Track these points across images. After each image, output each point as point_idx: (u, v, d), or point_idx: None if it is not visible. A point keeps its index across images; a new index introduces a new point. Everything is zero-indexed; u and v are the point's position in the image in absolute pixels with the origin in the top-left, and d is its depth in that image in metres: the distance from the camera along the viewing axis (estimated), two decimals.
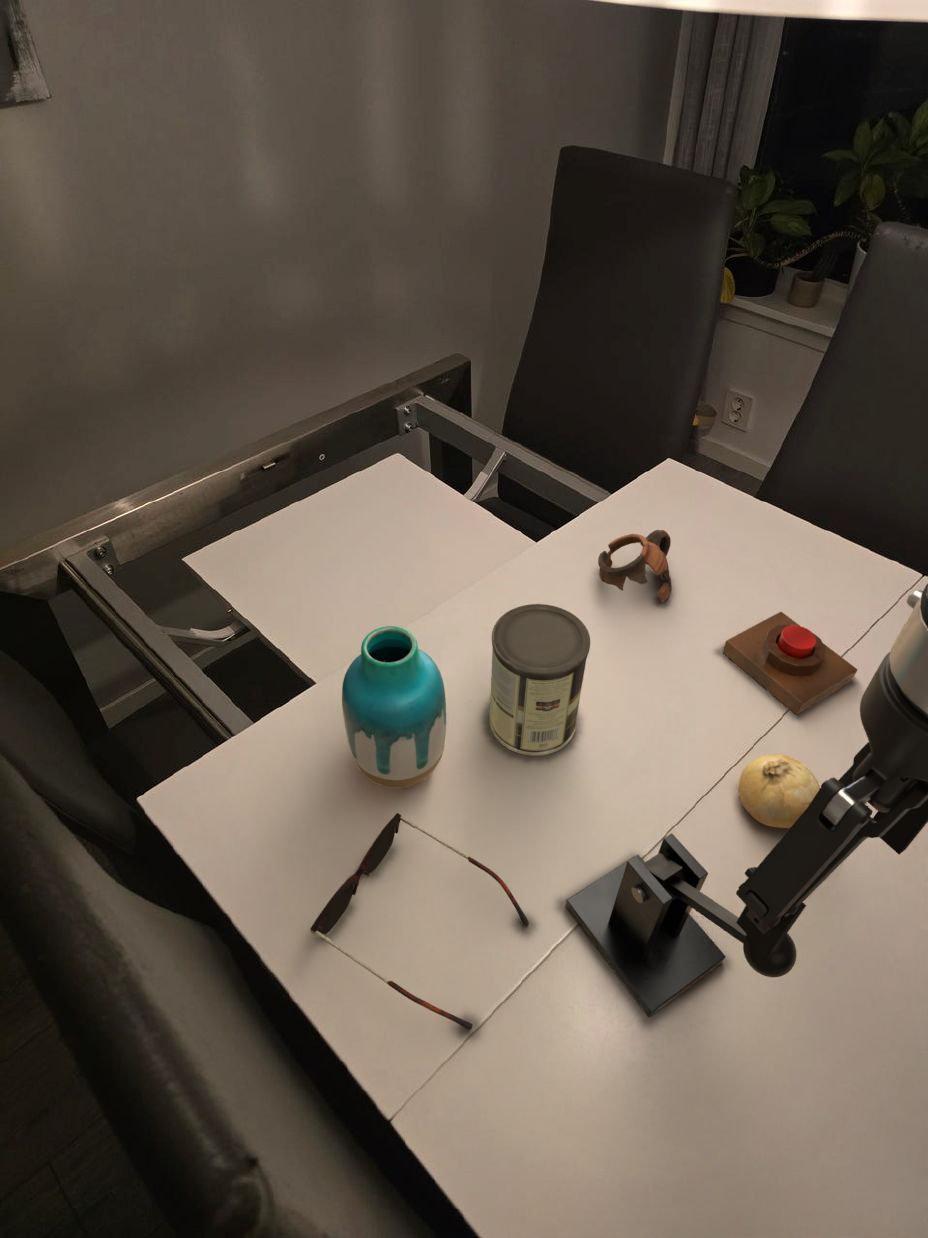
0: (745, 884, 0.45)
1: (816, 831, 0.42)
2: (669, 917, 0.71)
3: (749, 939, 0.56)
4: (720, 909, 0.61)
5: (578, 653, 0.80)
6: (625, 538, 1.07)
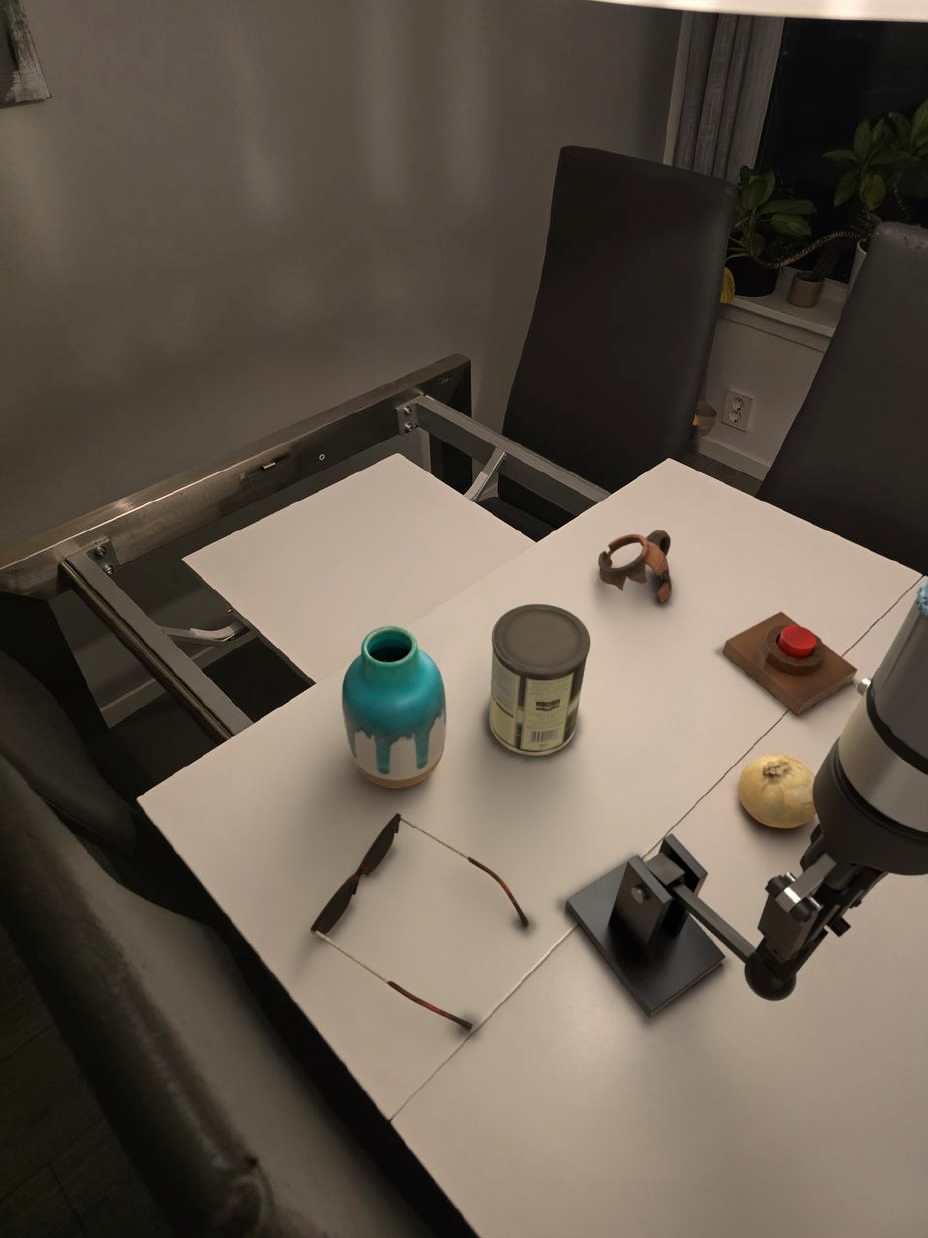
0: (759, 926, 0.50)
1: (782, 911, 0.45)
2: (669, 917, 0.71)
3: (753, 964, 0.57)
4: (722, 924, 0.61)
5: (578, 653, 0.80)
6: (625, 538, 1.07)
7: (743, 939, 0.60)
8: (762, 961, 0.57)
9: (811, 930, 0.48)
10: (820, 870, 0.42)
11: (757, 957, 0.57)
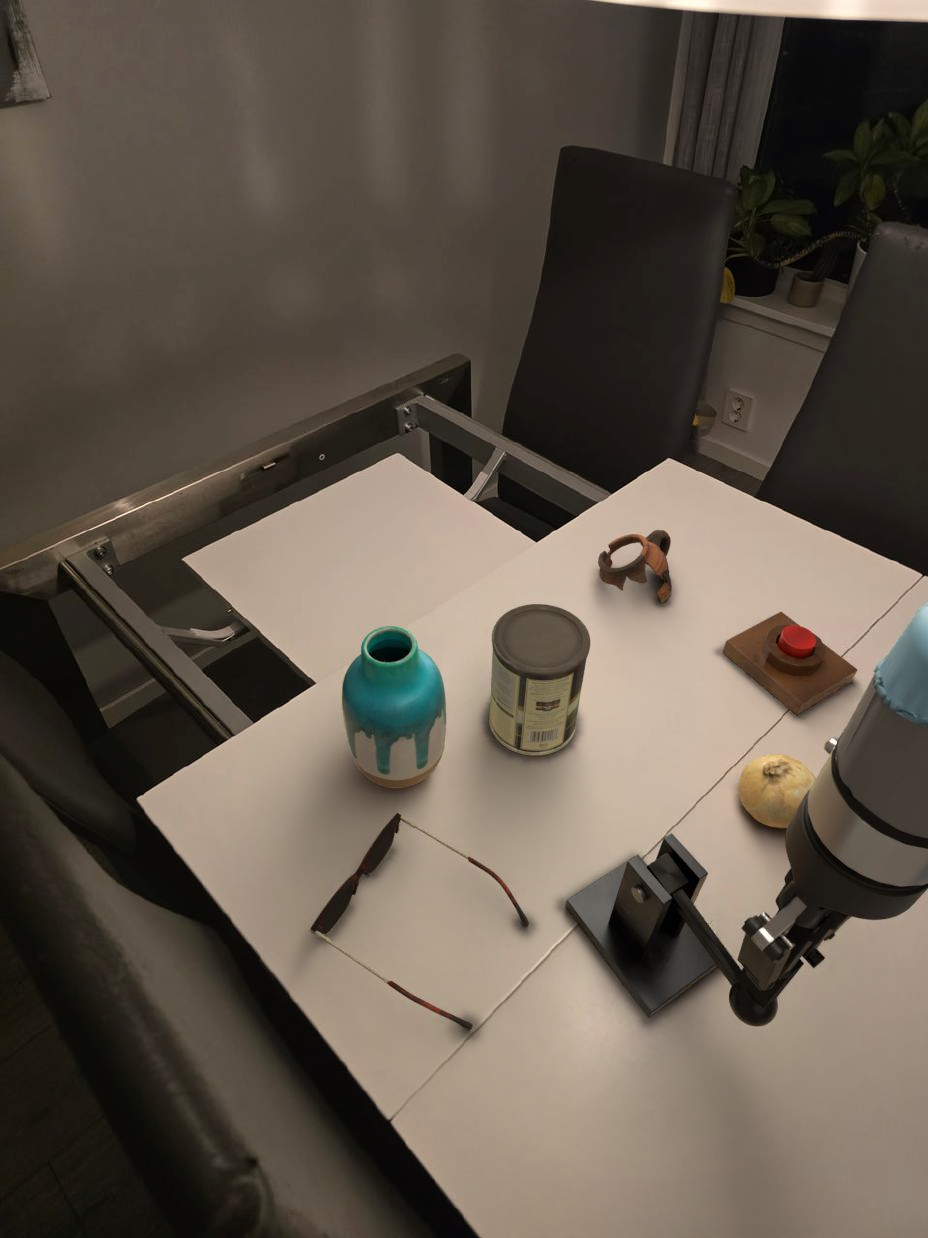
0: (738, 958, 0.53)
1: (758, 948, 0.48)
2: (669, 917, 0.71)
3: (744, 997, 0.60)
4: (716, 942, 0.63)
5: (578, 653, 0.80)
6: (625, 538, 1.07)
7: (734, 962, 0.62)
8: (753, 997, 0.60)
9: (787, 963, 0.52)
10: (792, 912, 0.46)
11: None
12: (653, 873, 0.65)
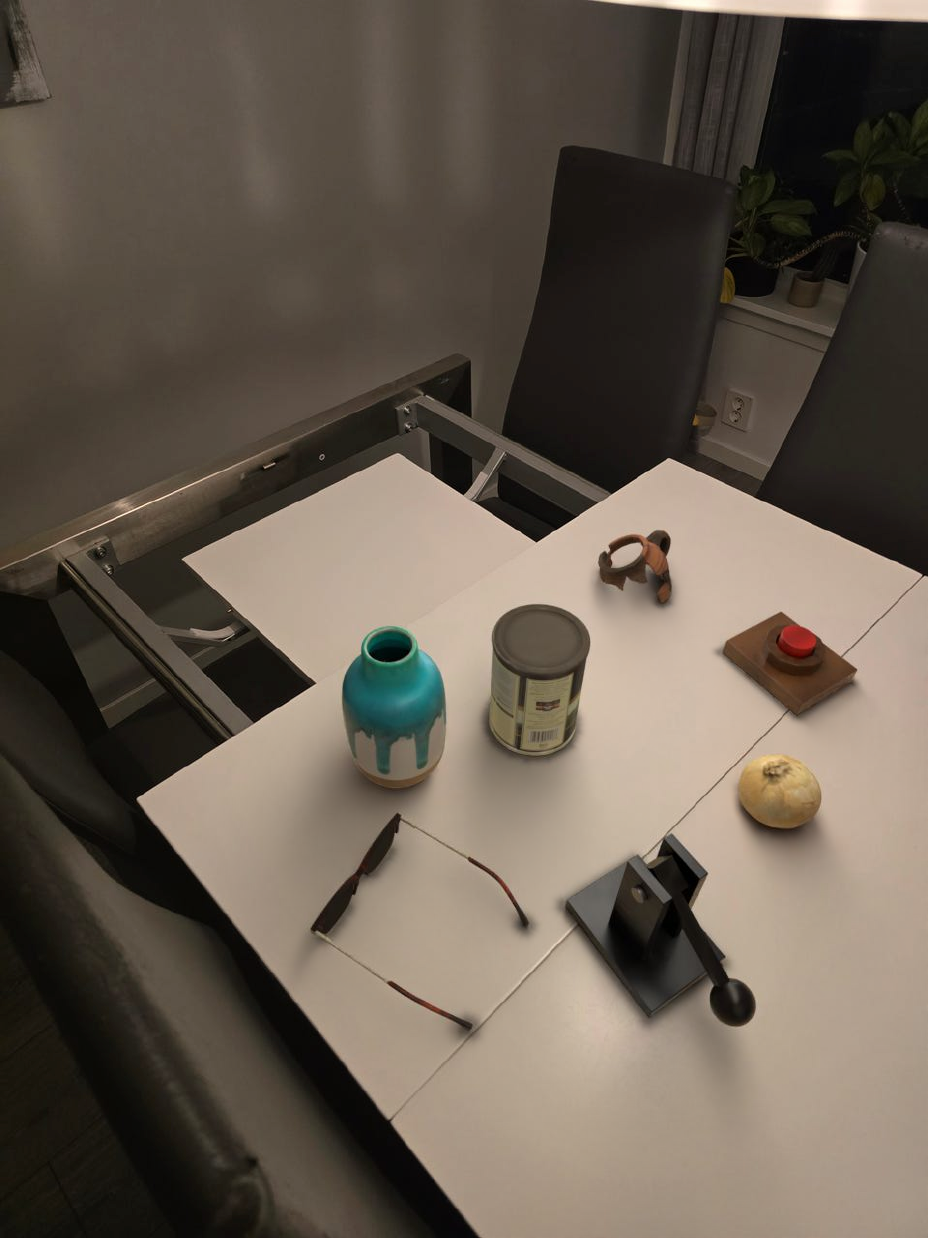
0: None
1: None
2: (669, 917, 0.71)
3: (727, 1003, 0.63)
4: (707, 946, 0.64)
5: (578, 653, 0.80)
6: (625, 538, 1.07)
7: (721, 966, 0.64)
8: (737, 1004, 0.62)
9: None
10: None
11: (733, 998, 0.63)
12: (656, 876, 0.65)
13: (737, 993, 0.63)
